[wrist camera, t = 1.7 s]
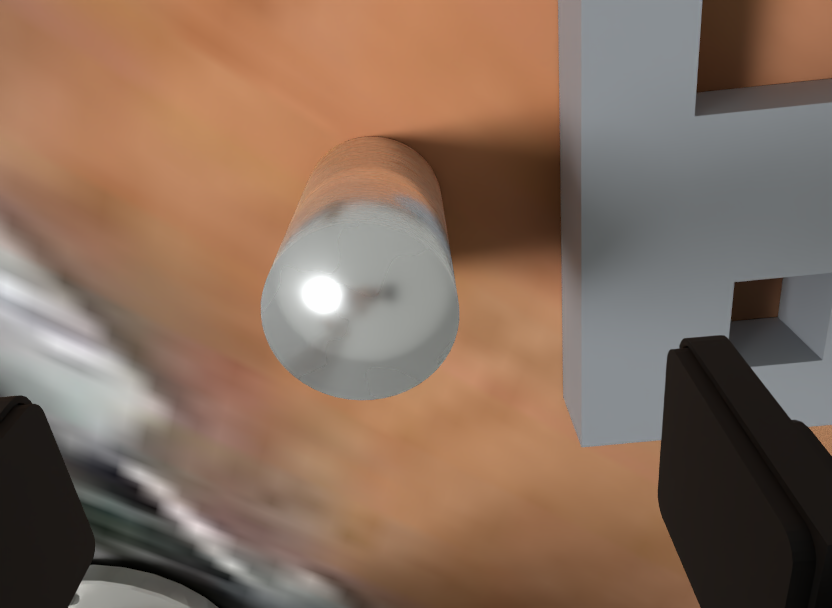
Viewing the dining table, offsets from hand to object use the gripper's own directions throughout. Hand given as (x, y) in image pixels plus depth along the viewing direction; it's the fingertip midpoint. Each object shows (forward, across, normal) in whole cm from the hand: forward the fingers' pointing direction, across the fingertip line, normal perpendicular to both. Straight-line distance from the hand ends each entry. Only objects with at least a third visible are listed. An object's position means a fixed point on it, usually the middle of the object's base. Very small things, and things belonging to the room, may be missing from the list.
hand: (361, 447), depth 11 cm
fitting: (+14, +1, +1) cm, 14 cm away
